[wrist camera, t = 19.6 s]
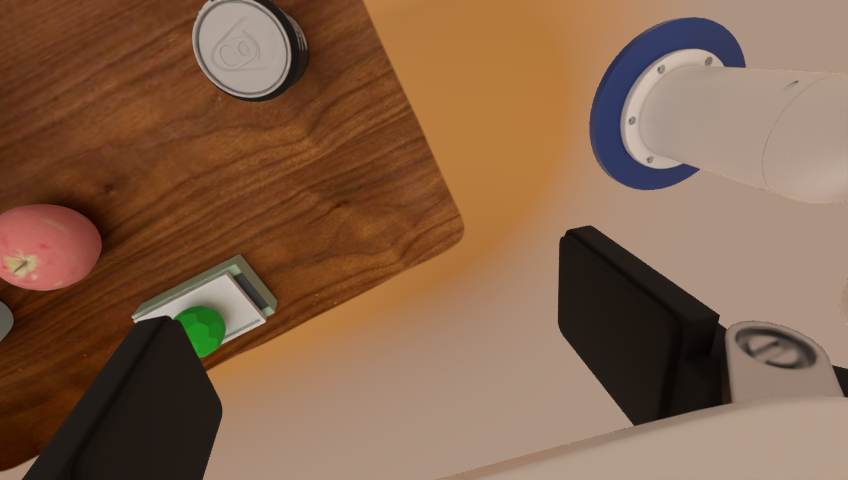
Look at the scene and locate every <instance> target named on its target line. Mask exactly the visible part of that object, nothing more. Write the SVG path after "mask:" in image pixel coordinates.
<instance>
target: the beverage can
mask: <svg viewBox="0 0 848 480" xmlns="http://www.w3.org/2000/svg"><path fill="white" fill-rule="evenodd" d="M192 43H193V49H194V53H195V56H196V59H197V61H198V63H199V65H200V67H201V69H202V71H203V72H204V74H205V75H206V76H207V78H208V79H209V80H210V81H211V82H212V83H213V84H214V85H215V86H216V87H218V88H219V89H220V90H221V91H223V92H225V93H226V94H228V95H230V96H232V97H234V98H237V99H240V100H244V101H249V102H261V101H267V100H270V99H273V98H275V97H277V96H279V95H281V94H282V93H283V92H285V91H286V90H287V89H288V88H289V87H291V86H292V85H293V84H294V83H295V82H296V81H298V80H299V79H300V77H301V76H302V75H303V73H304V71H305V69H306V67H307V63H308V57H309V51H308V44H307V40H306V37H305V35H304V33H303V31H302V29H301V27H300V26H299V25H298V23H297V22H296V21H295V20H294V19H293V18H292V17H291V16H290V15H288V14H287V13H286V12H284V11H283V10H281V9H280V8H278V7H277V6H275V5H274V4H273V3H271V2H270V1H268V0H209V1H208V2H207V3H206V4H205V5H204V6H203V7H202V8H201V10H200V11H199V13H198V14H197V17H196V19H195V22H194V26H193V34H192Z"/></svg>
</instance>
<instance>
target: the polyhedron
mask: <svg viewBox="0 0 848 480" xmlns="http://www.w3.org/2000/svg"><path fill="white" fill-rule="evenodd" d="M175 319H177V320H179V321H180V322H181V323H182V325H183V327H184V329H185V331H186V333H187V335H188V337H189V339H190V341H191V343H192V345H193V347H194V349H195V351H196V353H197V355H198V357H199V358H200V357H205V356H207V355H208V354H210V353H211V352H213V351H214V350H216V349H217V348H218V347H219V346H221V343H222V341H223V339H224V337H225V332H226V326H225V322H224V319H223V318H222V317H221V315H220V314H219V312H217V311H215V310H213V309H211V308H208V307H204V306H196V307H190V308H188V309H186V310H184V311H181V312H180V313H179V314H178V315H177V316H175V317H174V318H173V320H175Z"/></svg>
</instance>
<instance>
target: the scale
mask: <svg viewBox="0 0 848 480" xmlns="http://www.w3.org/2000/svg"><path fill="white" fill-rule="evenodd" d="M276 304H277V300H276V298H275V297H274V296H273V295H272V293H271V292H270V291H269V290H268V288H267V287H266V286H265V285H264V283H263V282H262V281H261V280H260V278H259V277H258V276H257V275H256V273H255V272H254V271H253V270H252V268H251V267H250V266H249V265H248V263H247V262H246V261H245V260H244V258H243V257H242V256H241V255H240V254H238V255H236V256H234V257H232V258H230V259H228V260H226V261H224V262H222V263H220V264H218V265H216V266H214V267H213V268H211V269H209V270H207V271H205V272H203V273H201V274H199V275H197V276H195V277H193V278H191V279H189V280H187V281H185V282H183V283H181V284H179V285H177V286H175V287H173V288H171V289H169V290H167V291H165V292H163V293H161V294H160V295H158V296H156V297H154V298H152V299H150V300H148V301H146V302H144V303H142V304H141V305H140V306H139V307H138V309H137V310H136V311H135V313H134V314H133V315H132V318H133V319H134V322H135V323H137V322H138V321H141V320H145V319H150V318H155V317H159V316H164V315H167V316H170V317H171V318H172V319H173V318H174V317H175V316H177V315H178V314H179V313H180V312H181V311H184V310H186V309H188V308H190V307H196V306H204V307H208V308H211V309H213V310H215V311H217V312H219V314H220V315H221V317H222V318H223V319H224V322H225V326H226V332H225V337H224V339H223V341H222V343H221V344H223V343H225V342H227V341H229V340H231V339H233V338H235V337H237V336H239V335H241V334H243V333H245V332H247V331H249V330H251V329H253V328H255V327H257V326H259V325H261V324H263V323H265V322H266V320H267V318H266V317H267V316H269V315H271V314H273V313H275V309H276Z"/></svg>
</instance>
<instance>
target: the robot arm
mask: <svg viewBox="0 0 848 480" xmlns="http://www.w3.org/2000/svg"><path fill="white" fill-rule="evenodd" d="M620 129H621V137H622V141H623V144H624V146H625V149H626V151H627V152H628V153H629V155H630V156H631V157H632V158H633V159H634V160H636V161H637V162H639V163H640V164H643V165H645V166H648V167H652V168H656V169H666V168H671V167H675V166H678V165H680V164H683V163H684V164H687V165H690V166H693V167H696V168H699V169H702V170H705V171H708V172H711V173H715V174H717V175H720V176H723V177H726V178H729V179H733V180H735V181H739V182H742V183H744V184H747V185H750V186H753V187H757V188H759V189H762V190H765V191H768V192H771V193H774V194H777V195H781V196H784V197H787V198H790V199H793V200H797V201H801V202H805V203H813V204H833V203H842V202H848V73H836V72H834V73H833V72H816V71H796V70H776V69H756V68H736V67H724V65H723V63H722V62H721V61H720V60H719V59H718V58H717V57H716V56H715V55H714V54H712V53H710V52H708V51H705V50H700V49H682V50H676V51H673V52H671V53H668V54H665V55H664V56H662V57H660V58H659V59H657V60H655V61H654V62H653V63H652V64H651V65H650V66H648V67H647V68H646V69H645V70H644V71H643V72H642V74H641V75H640V76H639V77H638V78H637V80H636V81H635V83H634V84H633V86H632V87H631V89H630V91H629V93H628V95H627V98H626V100H625V103H624V106H623V109H622V114H621V122H620ZM559 245H560V246H559V290H558V325H559V328H560V331H561V333H562V334H563V336H564V337H565V339H566V340H567V341H568V342H569V344H570V345H571V346H572V347H573V349H574V350H575V351H576V353H577V354H578V355H579V356H580V358H581V359H582V360H583V361H584V363H585V364H586V365H587V366H588V368H589V369H590V370H591V371H592V373H593V374H594V375H595V377H596V378H597V379H598V380H599V382H600V383H601V384H602V386H603V387H604V388H605V389H606V391H607V392H608V393H609V394H610V396H611V397H612V398H613V399H614V400H615V402H616V403H617V405H618V406H619V407H620V408H621V410H622V411H623V412H624V413H625V414H626V416H627V417H628V418H629V420H630V421H631V422H632V424H633V425H634V426H633V427H629V428H625V429H621V430H618V431H614V432H610V433H607V434H603V435H600V436H595V437H592V438H588V439H585V440H581V441H577V442H573V443H570V444H566V445H562V446H558V447H555V448H551V449H548V450H544V451H540V452H536V453H533V454H529V455H525V456H521V457H518V458H514V459H511V460H507V461H503V462H499V463H496V464H492V465H488V466H485V467H481V468H477V469H474V470H471V471H467V472H463V473H460V474H456V475H452V476H449V477H445V478H441V479H438V480H848V369H845V368H842V367H837V366H833V365H831V362H830V360H829V357H828V355H827V354H826V352H825V351H824V350H823V348H822V347H821V346H820V345H819V344H817V343H816V342H815V341H814V340H812V339H811V338H809V337H807V336H805V335H804V334H802V333H800V332H798V331H796V330H793V329H790V328H788V327H785V326H782V325H778V324H774V323H769V322H761V321H743V322H739V323H736V324H733V325H731V326H730V327H729V328H728V329H726V328H725V327H723V326H722V325H720V324H719V323H718V321H719V317H720V315H719V314H717V313H716V312H715V311H713V310H712V309H710V308H709V307H707V306H706V305H704V304H703V303H702V302H700V301H699V300H697V299H696V298H694V297H693V296H692V295H690V294H688V293H687V292H686V291H684V290H683V289H682V288H680V287H678V286H677V285H676V284H674V283H673V282H672V281H670V280H669V279H667V278H666V277H664V276H663V275H662V274H660V273H659V272H657V271H656V270H654V269H652V268H651V267H650V266H649V265H647V264H646V263H644V262H643V261H641V260H640V259H639V258H637V257H636V256H634V255H633V254H631V253H630V252H628V251H627V250H626V249H624V248H623V247H621V246H620V245H619V244H617V243H616V242H614V241H613V240H611V239H610V238H608V237H607V236H606V235H604V234H603V233H601V232H600V231H598V230H597V229H596V228H594V227H593V226H590V225H589V226H584V227H579V228H574V229H570V230H567V231H566V234H565V236H564V237H561V239H560V243H559ZM839 306H840V313H841V315H842V318H843V320H844V322H845V323H846V324H847V326H848V279H847V282H846V284H845V286H844V289H843V291H842V294H841V298H840V305H839ZM221 418H222V405H221V401H220V399H219V397H218V395H217V393H216V391H215V389H214V387H213V385H212V383H211V381H210V379H209V377H208V375H207V373H206V371H205V369H204V367H203V365H202V363H201V361H200V359H199V357H198V355H197V353H196V351H195V349H194V347H193V345H192V343H191V341H190V339H189V337H188V335H187V333H186V331H185V329H184V327H183V325H182V323H181V322H180V321H179V320H177V319H175V320H173V319H172V318H171V317H170V316H167V315H164V316H159V317H155V318H150V319H145V320H141V321H138V322H137V323H136V324H135V325H134V326H133V328H132V329H131V330H130V332H129V333H128V334H127V336H126V337H125V339H124V340H123V341H122V343H121V344H120V345H119V347H118V348H117V350H116V351H115V352H114V354H113V355H112V356H111V358H110V359H109V361H108V362H107V363H106V365H105V366H104V367H103V369H102V370H101V372H100V373H99V374H98V376H97V377H96V378H95V380H94V381H93V383H92V384H91V385H90V387H89V388H88V389H87V391H86V392H85V394H84V395H83V396H82V398H81V399H80V400H79V402H78V403H77V405H76V406H75V407H74V409H73V410H72V411H71V413H70V414H69V415H68V417H67V418H66V420H65V421H64V422H63V424H62V425H61V426H60V428H59V429H58V431H57V432H56V433H55V435H54V436H53V437H52V439H51V440H50V442H49V443H48V444H47V446H46V447H45V448H44V450H43V451H42V453H41V454H40V455H39V457H38V458H37V459H36V461H35V462H34V464H33V465H32V466H31V468H30V469H29V471H28V472H27V473H26V475H25V476H24V478H23V479H22V480H203V476H204V473H205V470H206V467H207V463H208V460H209V457H210V454H211V450H212V447H213V444H214V441H215V437H216V434H217V431H218V428H219V425H220V421H221Z"/></svg>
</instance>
